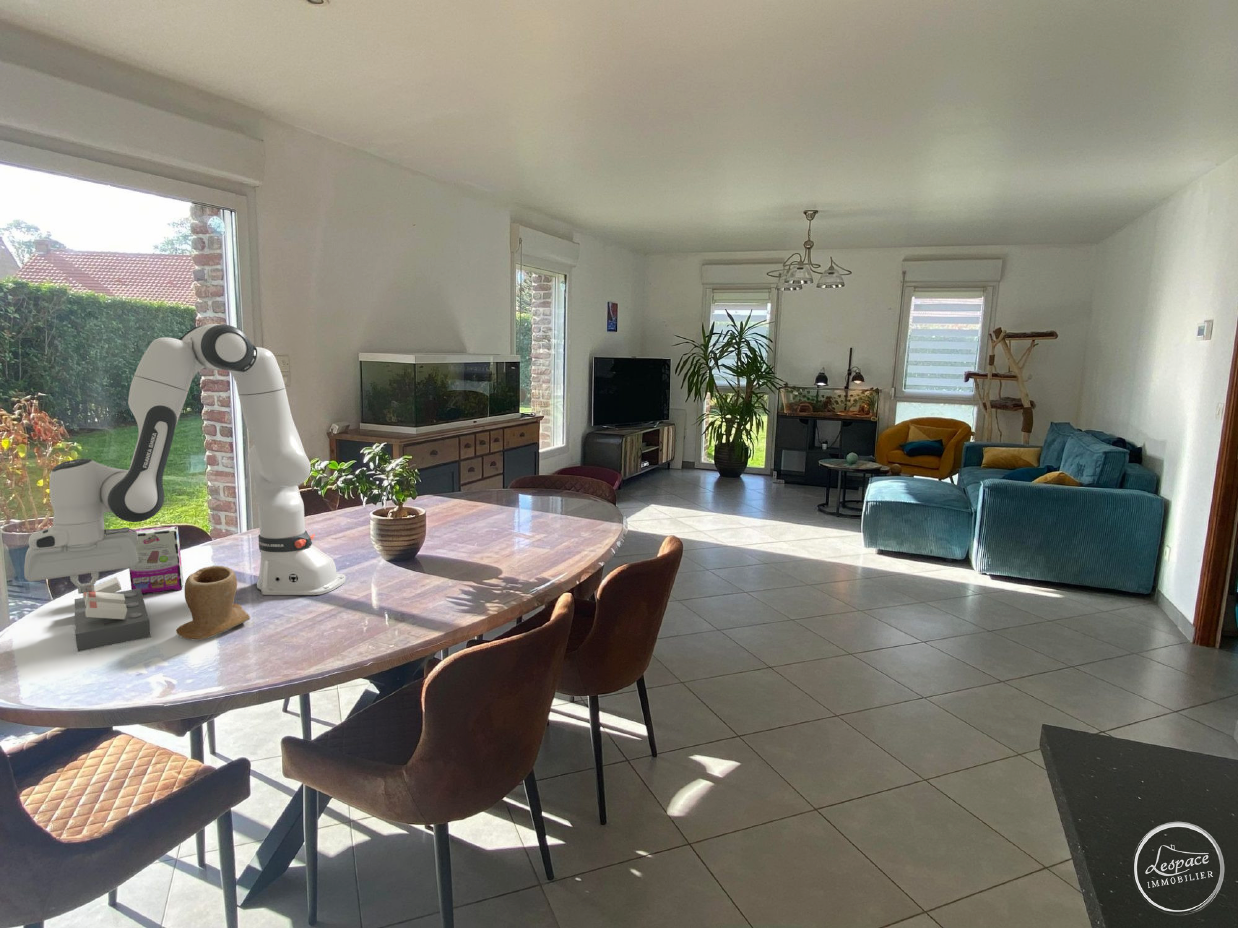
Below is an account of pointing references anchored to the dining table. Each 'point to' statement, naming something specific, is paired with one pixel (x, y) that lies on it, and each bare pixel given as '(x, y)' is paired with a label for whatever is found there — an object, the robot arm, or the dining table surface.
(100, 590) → the rocker
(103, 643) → the switch panel
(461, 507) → the dining table surface
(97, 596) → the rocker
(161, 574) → the candy bar box
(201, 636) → the stone cup
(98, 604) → the rocker
